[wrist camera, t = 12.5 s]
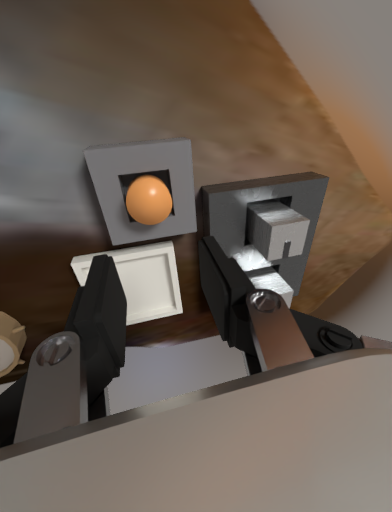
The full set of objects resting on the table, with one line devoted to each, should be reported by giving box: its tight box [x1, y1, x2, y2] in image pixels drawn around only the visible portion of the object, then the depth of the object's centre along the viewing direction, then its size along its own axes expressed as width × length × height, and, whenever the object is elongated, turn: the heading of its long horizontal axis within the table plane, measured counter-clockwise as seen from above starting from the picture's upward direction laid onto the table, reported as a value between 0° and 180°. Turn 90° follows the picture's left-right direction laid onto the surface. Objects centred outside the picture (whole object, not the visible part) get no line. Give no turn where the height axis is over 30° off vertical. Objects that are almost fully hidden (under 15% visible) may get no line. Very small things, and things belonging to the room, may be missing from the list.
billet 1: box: [245, 198, 310, 261], centre depth 25 cm, size 4×4×7 cm
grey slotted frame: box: [202, 172, 329, 296], centre depth 29 cm, size 18×14×3 cm
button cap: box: [126, 174, 172, 225], centre depth 20 cm, size 4×4×2 cm
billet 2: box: [244, 266, 294, 308], centre depth 30 cm, size 4×4×7 cm
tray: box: [71, 240, 183, 325], centre depth 29 cm, size 12×12×2 cm
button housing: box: [83, 137, 197, 245], centre depth 22 cm, size 9×9×3 cm
